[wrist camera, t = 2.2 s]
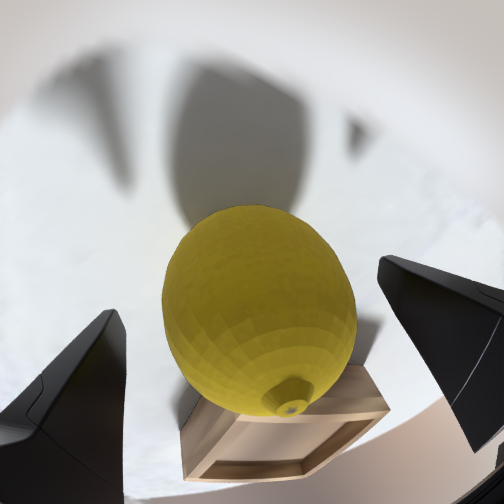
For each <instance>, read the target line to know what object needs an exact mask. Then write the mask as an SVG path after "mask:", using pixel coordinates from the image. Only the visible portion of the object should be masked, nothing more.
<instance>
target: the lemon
mask: <svg viewBox="0 0 504 504" xmlns="http://www.w3.org/2000/svg"><path fill="white" fill-rule="evenodd" d="M162 311H163V319H164V327H165V333H166V337H167V341H168V344H169V347H170V350H171V352H172V355H173V357H174V359H175V361H176V363H177V364H178V366H179V368H180V370H181V372H182V373H183V375H184V377H185V378H186V380H187V381H188V382H189V383H190V384H191V385H192V386H193V387H194V388H195V389H196V390H197V391H198V392H199V393H200V394H202V395H203V396H204V397H205V398H206V399H208V400H210V401H211V402H213V403H215V404H217V405H219V406H221V407H223V408H225V409H227V410H230V411H233V412H236V413H240V414H244V415H249V416H263V417H268V416H279V417H283V418H287V417H292V416H296V415H298V414H300V413H302V412H303V411H304V410H305V409H306V408H307V406H308V405H309V404H311V403H312V402H314V401H316V400H317V399H318V398H319V397H321V396H322V395H323V394H324V393H325V392H326V391H328V390H329V388H330V387H331V386H332V385H333V384H334V383H335V382H336V381H337V380H338V378H339V377H340V375H341V373H342V372H343V370H344V368H345V367H346V365H347V363H348V361H349V359H350V356H351V354H352V351H353V347H354V343H355V339H356V334H357V315H356V305H355V298H354V294H353V290H352V288H351V285H350V282H349V280H348V278H347V276H346V274H345V271H344V269H343V267H342V265H341V263H340V261H339V259H338V257H337V255H336V254H335V252H334V251H333V249H332V248H331V247H330V245H329V244H328V243H327V242H326V241H325V240H324V239H323V238H322V237H321V236H320V235H319V234H318V233H317V232H316V231H315V230H314V229H313V228H312V227H311V226H310V225H309V224H307V223H306V222H304V221H302V220H301V219H299V218H297V217H295V216H293V215H291V214H289V213H287V212H285V211H283V210H281V209H276V208H272V207H267V206H262V205H238V206H233V207H230V208H227V209H223V210H220V211H217V212H215V213H213V214H212V215H210V216H208V217H207V218H205V219H203V220H202V221H200V222H198V223H197V224H196V225H195V226H194V227H193V228H192V229H191V230H190V231H189V232H188V233H187V234H186V235H185V237H184V238H183V239H182V240H181V242H180V243H179V245H178V247H177V249H176V250H175V252H174V254H173V256H172V258H171V260H170V261H169V264H168V267H167V271H166V276H165V280H164V285H163V291H162Z"/></svg>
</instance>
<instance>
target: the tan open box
mask: <svg viewBox="0 0 504 504" xmlns="http://www.w3.org/2000/svg"><path fill="white" fill-rule="evenodd" d="M390 411H391V410H390V408H389V406H388V405H387V403H386V401H385V400H384V398H383V396H382V395H381V393H380V391H379V390H378V388H377V386H376V385H375V383H374V382H373V380H372V378H371V377H370V375H369V373H368V372H367V370H366V369H365V367H364V366H360V365H350V364H347V365H346V367H345V368H344V370H343V372H342V373H341V375H340V377H339V378H338V380H337V381H336V382H335V383H334V384H333V385H332V386H331V387H330V388H329V390H328V391H326V392H325V393H324V394H323V395H322V396H321V397H319V398H318V399H317V400H316V401H314V402H312V403H311V404H309V405H308V406H307V408H306V409H305V410H304V411H303V412H302V413H300V414H298V415H296V416H292V417H287V418H283V417H279V416H268V417H263V416H249V415H244V414H240V413H236V412H233V411H230V410H227V409H225V408H223V407H221V406H219V405H217V404H215V403H213V402H211V401H210V400H208V399H206V398H205V397H204V396H203V395H202V396H201V397H200V399H199V401H198V403H197V404H196V406H195V408H194V409H193V411H192V413H191V415H190V416H189V418H188V420H187V421H186V423H185V425H184V427H183V428H182V430H181V432H180V442H181V456H182V468H183V479H184V481H193V482H213V483H249V482H269V481H282V480H292V479H301V478H307V477H308V476H310V475H311V474H313V473H314V472H316V471H317V470H319V469H320V468H321V467H323V466H324V465H326V464H327V463H328V462H330V461H331V460H332V459H334V458H335V457H337V456H338V455H339V454H340V453H342V452H343V451H344V450H346V449H347V448H348V447H349V446H351V445H352V444H353V443H354V442H356V441H357V440H358V439H359V438H360V437H362V436H363V435H364V434H365V433H366V432H368V431H369V430H370V429H371V428H372V427H373V426H374V425H375V424H377V423H378V422H379V421H380V420H381V419H382V418H383V417H384V416H385V415H386V414H387V413H389V412H390Z"/></svg>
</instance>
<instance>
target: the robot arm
mask: <svg viewBox="0 0 504 504" xmlns="http://www.w3.org/2000/svg"><path fill="white" fill-rule="evenodd" d="M377 281H378V284H379V286H380V287H381V289H382V291H383V293H384V295H385V297H386V299H387V300H388V302H389V304H390V306H391V308H392V310H393V312H394V314H395V315H396V317H397V319H398V320H399V322H400V323H401V325H402V326H403V328H404V329H405V331H406V332H407V334H408V336H409V337H410V339H411V340H412V342H413V343H414V345H415V347H416V348H417V350H418V351H419V353H420V355H421V356H422V358H423V360H424V361H425V363H426V365H427V366H428V368H429V370H430V371H431V373H432V375H433V376H434V378H435V380H436V382H437V383H438V385H439V387H440V389H441V390H442V392H443V394H444V396H445V397H446V399H447V401H448V403H449V405H450V406H451V409H452V410H453V412H454V414H455V416H456V418H457V420H458V422H459V424H460V426H461V428H462V430H463V432H464V434H465V436H466V438H467V440H468V442H469V444H470V446H471V448H472V450H473V452H474V453H476V452H477V451H479V450H480V449H481V448H483V447H484V446H485V445H486V444H487V443H488V442H490V441H491V440H492V439H493V438H494V437H496V436H497V435H498V434H499V433H500V432H501V431H502V430H503V429H504V290H501V289H498V288H495V287H491V286H488V285H485V284H482V283H479V282H476V281H472V280H470V279H467V278H464V277H461V276H458V275H454V274H451V273H448V272H445V271H442V270H439V269H436V268H433V267H429V266H426V265H423V264H420V263H416V262H413V261H410V260H407V259H403V258H400V257H397V256H393V255H387V256H383V257H381V258H380V260H379V266H378V274H377ZM125 387H126V330H125V327H124V325H123V323H122V321H121V318H120V316H119V314H118V312H117V311H116V310H115V309H110V310H104V311H103V312H102V313H101V314H100V315H99V316H98V317H97V318H95V319H94V320H93V321H92V322H91V323H90V324H89V325H88V326H87V327H86V328H85V329H84V330H83V331H82V332H81V333H80V334H79V335H78V336H77V337H76V338H75V339H74V340H73V341H72V342H71V343H70V344H69V345H68V346H67V347H66V348H65V349H64V350H63V351H62V352H61V353H60V354H59V355H58V356H57V357H56V358H55V359H54V360H53V361H52V362H51V363H50V364H49V365H48V366H47V367H46V368H45V369H44V370H43V371H42V374H39V375H38V376H37V377H36V379H35V380H34V381H33V382H32V383H31V384H30V385H29V386H28V387H27V388H26V389H25V390H24V391H23V392H22V393H21V394H20V395H19V396H18V397H17V398H16V399H15V400H13V401H12V402H11V403H10V404H9V405H8V406H7V407H6V408H5V409H4V410H3V411H2V412H1V413H0V504H124V492H123V419H124V401H125ZM452 504H504V442H503V443H502V444H500V445H499V448H498V455H497V460H496V466H495V470H494V471H493V472H491V473H490V474H489V475H488V476H487V477H486V478H484V479H483V480H482V481H481V482H480V483H478V484H477V485H476V486H475V487H473V488H472V489H471V490H470V491H468V492H467V493H466V494H464V495H463V496H462V497H460V498H459V499H457V500H456V501H455V502H453V503H452Z"/></svg>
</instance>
